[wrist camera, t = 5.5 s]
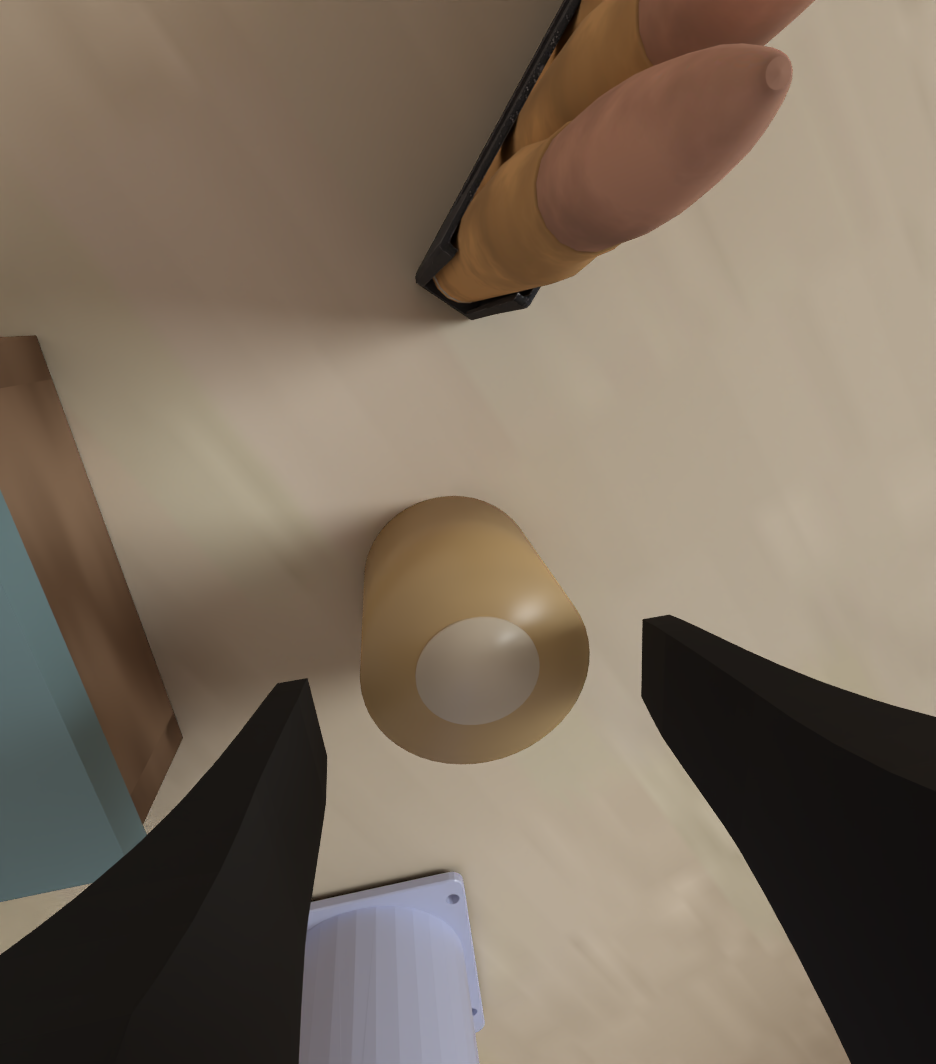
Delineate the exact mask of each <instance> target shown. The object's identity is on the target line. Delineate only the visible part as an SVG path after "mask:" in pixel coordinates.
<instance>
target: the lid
mask: <svg viewBox="0 0 936 1064" xmlns="http://www.w3.org/2000/svg"><path fill="white" fill-rule="evenodd" d="M146 835H147V834H146V832H145V829H144V827H143V825H142V822H141V820H140V818H139V815H138V813H137V810H136V808H135V806H134V803H133V801H132V799H131V796H130V794H129V792H128V789H127V787H126V785H125V782H124V780H123V777H122V775H121V773H120V770H119V768H118V766H117V763H116V761H115V759H114V756H113V754H112V752H111V749H110V747H109V744H108V742H107V740H106V737H105V735H104V733H103V730H102V728H101V726H100V723H99V721H98V719H97V716H96V714H95V711H94V709H93V707H92V704H91V702H90V700H89V697H88V695H87V693H86V690H85V688H84V686H83V683H82V681H81V679H80V676H79V674H78V671H77V669H76V667H75V664H74V662H73V660H72V657H71V655H70V653H69V650H68V648H67V646H66V643H65V641H64V638H63V636H62V634H61V631H60V629H59V627H58V624H57V622H56V620H55V617H54V615H53V613H52V610H51V608H50V605H49V603H48V601H47V598H46V596H45V594H44V591H43V589H42V587H41V584H40V582H39V580H38V577H37V575H36V572H35V570H34V568H33V565H32V563H31V561H30V558H29V556H28V554H27V551H26V549H25V547H24V544H23V542H22V539H21V537H20V535H19V532H18V530H17V528H16V525H15V523H14V521H13V518H12V516H11V514H10V511H9V509H8V506H7V504H6V502H5V499H4V497H3V495H2V492H1V490H0V902H3V901H8V900H12V899H17V898H22V897H27V896H32V895H37V894H41V893H46V892H51V891H56V890H61V889H66V888H70V887H75V886H80V885H85V884H90V883H93V882H94V881H96V880H97V879H98V878H99V877H100V876H101V875H103V874H104V873H105V872H106V871H107V870H108V869H110V868H111V867H112V866H113V865H114V864H115V863H116V862H118V861H119V860H120V859H121V858H122V857H123V856H125V855H126V854H127V853H128V852H129V851H130V850H132V849H133V848H134V847H135V846H136V845H137V844H138V843H139V842H140V841H141V840H142V839H143V838H144V837H145V836H146Z"/></svg>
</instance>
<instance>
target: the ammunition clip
mask: <svg viewBox="0 0 936 1064" xmlns="http://www.w3.org/2000/svg"><path fill="white" fill-rule="evenodd" d="M814 1H815V0H564V1H563V3H562V5H561V7H560V9H559V10H558V12H557V14H556V16H555V18H554V20H553V22H552V23H551V25H550V27H549V29H548V31H547V33H546V34H545V36H544V38H543V40H542V42H541V44H540V46H539V47H538V49H537V51H536V53H535V55H534V57H533V58H532V60H531V62H530V64H529V66H528V68H527V70H526V71H525V73H524V75H523V77H522V79H521V81H520V82H519V84H518V86H517V88H516V90H515V92H514V94H513V95H512V97H511V99H510V101H509V103H508V105H507V106H506V108H505V110H504V112H503V114H502V116H501V118H500V119H499V121H498V123H497V125H496V127H495V129H494V130H493V132H492V134H491V136H490V138H489V140H488V142H487V143H486V145H485V147H484V149H483V151H482V153H481V154H480V156H479V158H478V160H477V162H476V164H475V166H474V167H473V169H472V171H471V173H470V175H469V177H468V178H467V180H466V182H465V184H464V186H463V188H462V190H461V191H460V193H459V195H458V197H457V199H456V201H455V202H454V204H453V206H452V208H451V210H450V212H449V214H448V215H447V217H446V219H445V221H444V223H443V225H442V226H441V228H440V230H439V232H438V234H437V236H436V238H435V239H434V241H433V243H432V245H431V247H430V249H429V250H428V252H427V254H426V256H425V258H424V260H423V262H422V263H421V265H420V267H419V269H418V271H417V273H416V276H415V279H416V283H417V284H419V285H420V286H422V287H423V288H425V289H426V290H428V291H429V292H431V293H432V294H434V295H435V296H437V297H438V298H440V299H441V300H442V301H444V302H445V303H447V304H448V305H450V306H451V307H453V308H454V309H456V310H457V311H459V312H460V313H462V314H463V315H465V316H466V317H468V318H469V319H471V320H474V319H478V318H482V317H486V316H490V315H494V314H498V313H504V312H509V311H514V310H519V309H524V308H527V307H528V306H529V305H530V304H531V302H532V300H533V299H534V297H535V295H536V294H537V292H538V290H539V289H540V287H541V286H545V285H549V284H552V283H555V282H558V281H561V280H564V279H567V278H569V277H572V276H574V275H576V274H577V273H578V272H579V271H580V270H582V269H583V268H584V267H585V266H586V265H588V264H589V263H590V262H591V261H592V260H593V259H594V258H596V257H597V256H599V255H601V254H604V253H606V252H608V251H611V250H613V249H615V248H616V247H617V246H618V245H620V244H621V243H623V242H626V241H629V240H632V239H634V238H637V237H640V236H642V235H645V234H647V233H649V232H651V231H652V230H654V229H656V228H658V227H659V226H661V225H663V224H664V223H666V222H667V221H669V220H671V219H672V218H674V217H676V216H677V215H679V214H680V213H682V212H683V211H684V210H686V209H687V208H688V207H689V206H691V205H692V204H693V203H694V202H696V201H697V200H698V199H699V198H700V197H702V196H703V195H704V194H705V193H706V192H708V191H709V190H710V189H711V188H712V187H713V186H715V185H716V184H717V183H718V182H719V181H720V180H722V179H723V178H724V177H725V176H726V175H727V174H728V173H729V172H730V171H731V170H732V169H733V168H734V167H735V166H736V165H737V164H738V163H739V162H740V161H741V160H742V159H743V158H744V157H745V156H746V155H747V154H748V153H749V152H750V151H751V149H752V148H753V147H754V145H755V144H756V143H757V141H758V140H759V139H760V137H761V136H762V135H763V133H764V132H765V131H766V129H767V127H768V126H769V124H770V123H771V121H772V120H773V118H774V116H775V115H776V113H777V111H778V110H779V108H780V106H781V104H782V103H783V101H784V99H785V97H786V94H787V92H788V90H789V87H790V84H791V81H792V72H793V69H792V65H791V61H790V60H789V58H788V56H787V55H786V54H785V53H783V52H782V51H780V50H777V49H775V48H772V47H766V46H764V45H765V44H766V43H768V42H769V41H770V40H771V39H772V38H773V37H775V36H776V35H777V34H778V33H779V32H781V31H782V30H783V29H784V28H785V27H786V26H787V25H789V24H790V23H791V22H792V21H793V20H794V19H795V18H796V17H797V16H799V15H800V14H801V13H802V12H803V11H804V10H805V9H806V8H807V7H808V6H809V5H810V4H812V3H813V2H814Z"/></svg>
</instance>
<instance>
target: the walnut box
mask: <svg viewBox="0 0 936 1064" xmlns="http://www.w3.org/2000/svg"><path fill="white" fill-rule="evenodd" d="M0 490H1V492H2V495H3V497H4V499H5V502H6V504H7V506H8V509H9V511H10V514H11V516H12V518H13V521H14V523H15V525H16V528H17V530H18V532H19V535H20V537H21V539H22V542H23V544H24V547H25V549H26V551H27V554H28V556H29V558H30V561H31V563H32V565H33V568H34V570H35V572H36V575H37V577H38V580H39V582H40V584H41V587H42V589H43V591H44V594H45V596H46V598H47V601H48V603H49V605H50V608H51V610H52V613H53V615H54V617H55V620H56V622H57V624H58V627H59V629H60V631H61V634H62V636H63V638H64V641H65V643H66V646H67V648H68V650H69V653H70V655H71V657H72V660H73V662H74V664H75V667H76V669H77V671H78V674H79V676H80V679H81V681H82V683H83V686H84V688H85V690H86V693H87V695H88V697H89V700H90V702H91V704H92V707H93V709H94V711H95V714H96V716H97V719H98V721H99V723H100V726H101V728H102V730H103V733H104V735H105V737H106V740H107V742H108V744H109V747H110V749H111V752H112V754H113V756H114V759H115V761H116V763H117V766H118V768H119V770H120V773H121V775H122V777H123V780H124V782H125V785H126V787H127V789H128V792H129V794H130V796H131V799H132V801H133V803H134V806H135V808H136V810H137V813H138V815H139V818H140V820H141V822H142V825H143V823H144V821H145V819H146V817H147V814H148V812H149V810H150V808H151V806H152V804H153V801H154V799H155V797H156V795H157V793H158V791H159V788H160V786H161V784H162V782H163V780H164V778H165V775H166V773H167V771H168V769H169V767H170V765H171V762H172V760H173V758H174V756H175V754H176V752H177V749H178V747H179V745H180V743H181V741H182V739H183V737H182V734H181V731H180V729H179V726H178V723H177V720H176V718H175V715H174V712H173V709H172V707H171V704H170V701H169V698H168V696H167V693H166V690H165V688H164V685H163V682H162V679H161V677H160V674H159V671H158V668H157V666H156V663H155V660H154V657H153V655H152V652H151V649H150V646H149V644H148V641H147V638H146V635H145V633H144V630H143V627H142V625H141V622H140V619H139V616H138V614H137V611H136V608H135V605H134V603H133V600H132V597H131V594H130V592H129V589H128V586H127V583H126V581H125V578H124V575H123V573H122V570H121V567H120V564H119V562H118V559H117V556H116V553H115V551H114V548H113V545H112V542H111V540H110V537H109V534H108V531H107V529H106V526H105V523H104V521H103V518H102V515H101V512H100V510H99V507H98V504H97V501H96V499H95V496H94V493H93V490H92V488H91V485H90V482H89V479H88V477H87V474H86V471H85V468H84V466H83V463H82V460H81V458H80V455H79V452H78V449H77V447H76V444H75V441H74V438H73V436H72V433H71V430H70V427H69V425H68V422H67V419H66V416H65V414H64V411H63V408H62V406H61V403H60V400H59V397H58V395H57V392H56V389H55V386H54V384H53V381H52V378H51V375H50V373H49V370H48V367H47V364H46V362H45V359H44V356H43V353H42V351H41V348H40V345H39V343H38V340H37V337H36V336H16V337H0Z"/></svg>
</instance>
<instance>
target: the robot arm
mask: <svg viewBox="0 0 936 1064" xmlns="http://www.w3.org/2000/svg"><path fill="white" fill-rule="evenodd" d="M641 697H642V699H643V701H644V703H645V705H646V707H647V709H648V711H649V713H650V715H651V717H652V719H653V721H654V722H655V724H656V726H657V728H658V730H659V732H660V734H661V736H662V737H663V739H664V740H665V742H666V743H667V745H668V746H669V748H670V749H671V751H672V752H673V753H674V755H675V756H676V758H677V759H678V761H679V762H680V764H681V765H682V767H683V768H684V769H685V771H686V772H687V774H688V775H689V777H690V778H691V779H692V781H693V782H694V784H695V785H696V787H697V788H698V789H699V791H700V792H701V794H702V795H703V796H704V798H705V799H706V801H707V802H708V804H709V805H710V806H711V808H712V809H713V811H714V812H715V814H716V815H717V816H718V818H719V819H720V821H721V822H722V824H723V825H724V826H725V828H726V829H727V831H728V833H729V834H730V836H731V837H732V839H733V840H734V842H735V843H736V845H737V847H738V848H739V850H740V852H741V853H742V855H743V857H744V859H745V860H746V862H747V864H748V866H749V867H750V869H751V871H752V873H753V874H754V876H755V878H756V880H757V881H758V883H759V885H760V887H761V888H762V890H763V892H764V894H765V896H766V897H767V899H768V901H769V903H770V905H771V907H772V908H773V910H774V912H775V914H776V916H777V918H778V920H779V921H780V923H781V925H782V927H783V929H784V931H785V933H786V934H787V936H788V938H789V940H790V942H791V944H792V946H793V947H794V949H795V951H796V953H797V955H798V957H799V959H800V961H801V963H802V965H803V967H804V969H805V971H806V973H807V975H808V977H809V979H810V981H811V983H812V985H813V987H814V989H815V991H816V993H817V995H818V996H819V998H820V1000H821V1002H822V1004H823V1006H824V1008H825V1010H826V1012H827V1014H828V1016H829V1018H830V1020H831V1022H832V1024H833V1026H834V1029H835V1031H836V1033H837V1035H838V1037H839V1039H840V1041H841V1043H842V1045H843V1047H844V1049H845V1052H846V1054H847V1056H848V1058H849V1060H850V1062H851V1064H936V717H934V716H930V715H926V714H923V713H919V712H915V711H911V710H908V709H904V708H900V707H897V706H893V705H890V704H887V703H883V702H880V701H877V700H873V699H870V698H867V697H864V696H861V695H858V694H855V693H852V692H849V691H846V690H843V689H840V688H838V687H835V686H832V685H829V684H826V683H824V682H821V681H818V680H816V679H813V678H810V677H808V676H806V675H803V674H801V673H798V672H796V671H793V670H791V669H788V668H786V667H784V666H781V665H779V664H776V663H774V662H772V661H770V660H767V659H765V658H763V657H761V656H758V655H756V654H754V653H752V652H750V651H747V650H745V649H743V648H741V647H739V646H737V645H735V644H732V643H730V642H728V641H726V640H724V639H722V638H720V637H718V636H716V635H714V634H711V633H709V632H707V631H705V630H703V629H701V628H699V627H697V626H694V625H692V624H690V623H688V622H686V621H684V620H681V619H679V618H676V617H674V616H671V615H665V616H659V617H654V618H648V619H643V628H642V688H641ZM326 784H327V754H326V750H325V746H324V742H323V738H322V734H321V730H320V726H319V722H318V718H317V714H316V710H315V706H314V702H313V698H312V694H311V690H310V686H309V682H308V678H306V679H300V680H294V681H289V682H283V683H277V684H276V686H275V687H274V688H273V690H272V691H271V692H270V693H269V695H268V696H267V697H266V698H265V700H264V701H263V702H262V704H261V705H260V706H259V708H258V709H257V710H256V712H255V713H254V714H253V716H252V717H251V718H250V719H249V721H248V722H247V723H246V725H245V726H244V727H243V729H242V730H241V731H240V732H239V734H238V735H237V736H236V737H235V739H234V740H233V741H232V742H231V744H230V745H229V746H228V748H227V749H226V750H225V751H224V753H223V754H222V755H221V756H220V758H219V759H218V760H217V761H216V762H215V763H214V765H213V766H212V767H211V768H210V769H209V770H208V771H207V773H206V774H205V775H204V776H203V777H202V778H201V779H200V781H199V782H198V783H197V784H196V785H195V786H194V787H193V789H192V790H191V791H190V792H189V793H188V794H187V795H186V796H185V797H184V798H183V800H182V801H181V802H180V803H179V804H178V805H177V806H176V807H175V808H174V809H173V810H172V811H171V812H170V813H169V814H168V815H167V816H166V817H165V818H164V819H163V820H162V821H161V822H160V823H159V824H158V825H157V826H156V827H155V828H154V829H153V830H152V831H151V832H150V833H149V834H148V835H146V836H145V837H144V838H143V839H142V840H141V841H140V842H139V843H138V844H137V845H136V846H135V847H134V848H133V849H132V850H130V851H129V852H128V853H127V854H126V855H125V856H123V857H122V858H121V859H120V860H119V861H118V862H116V863H115V864H114V865H113V866H112V867H111V868H110V869H108V870H107V871H106V872H105V873H104V874H103V875H101V876H100V877H99V878H98V879H97V880H96V881H94V882H93V883H92V884H91V885H90V886H89V887H88V888H86V889H85V890H84V891H83V892H82V893H80V894H79V895H78V896H77V897H76V898H74V899H73V900H72V901H71V902H69V903H68V904H67V905H66V906H64V907H63V908H62V909H60V910H59V911H58V912H57V913H55V914H54V915H53V916H52V917H50V918H49V919H48V920H46V921H45V922H44V923H43V924H41V925H40V926H39V927H37V928H36V929H35V930H33V931H32V932H30V933H29V934H28V935H26V936H25V937H24V938H22V939H21V940H20V941H18V942H17V943H16V944H14V945H13V946H12V947H10V948H9V949H8V950H6V951H5V952H4V953H2V954H1V955H0V1064H479V1057H478V1050H477V1043H476V1036H475V1033H476V1032H478V1031H480V1030H481V1029H482V1028H483V1027H484V1024H485V1021H484V1015H483V1008H482V1001H481V995H480V988H479V982H478V975H477V968H476V962H475V955H474V949H473V942H472V935H471V929H470V922H469V916H468V909H467V902H466V896H465V889H464V883H463V878H462V876H461V875H460V874H459V873H457V872H446V873H442V874H437V875H432V876H428V877H423V878H419V879H414V880H410V881H405V882H400V883H396V884H391V885H387V886H382V887H378V888H373V889H368V890H364V891H359V892H355V893H350V894H346V895H341V896H336V897H332V898H327V899H323V900H318V901H314V902H311V898H312V892H313V885H314V879H315V872H316V866H317V859H318V853H319V846H320V840H321V833H322V826H323V820H324V813H325V805H326Z"/></svg>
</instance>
